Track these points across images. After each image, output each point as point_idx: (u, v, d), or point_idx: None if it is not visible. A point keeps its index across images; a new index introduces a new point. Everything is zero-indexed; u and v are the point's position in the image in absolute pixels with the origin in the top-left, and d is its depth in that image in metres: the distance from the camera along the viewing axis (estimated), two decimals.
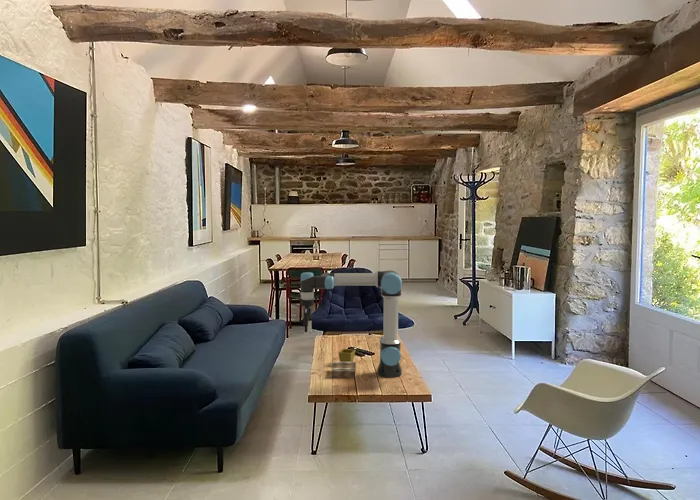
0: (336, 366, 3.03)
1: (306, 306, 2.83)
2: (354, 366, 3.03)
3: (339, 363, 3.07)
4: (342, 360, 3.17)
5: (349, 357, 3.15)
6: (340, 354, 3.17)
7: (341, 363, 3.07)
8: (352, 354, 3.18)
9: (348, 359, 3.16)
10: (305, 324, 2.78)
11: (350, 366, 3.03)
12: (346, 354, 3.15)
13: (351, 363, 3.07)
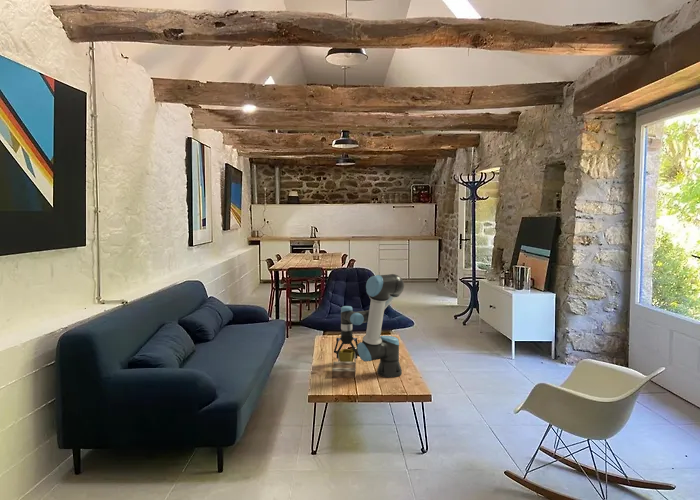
0: (336, 366, 3.03)
1: None
2: (354, 366, 3.03)
3: (339, 363, 3.07)
4: (342, 360, 3.17)
5: (349, 357, 3.15)
6: (340, 354, 3.17)
7: (341, 363, 3.07)
8: (352, 354, 3.18)
9: (348, 359, 3.16)
10: (334, 351, 3.20)
11: (350, 366, 3.03)
12: (346, 354, 3.15)
13: (351, 363, 3.07)
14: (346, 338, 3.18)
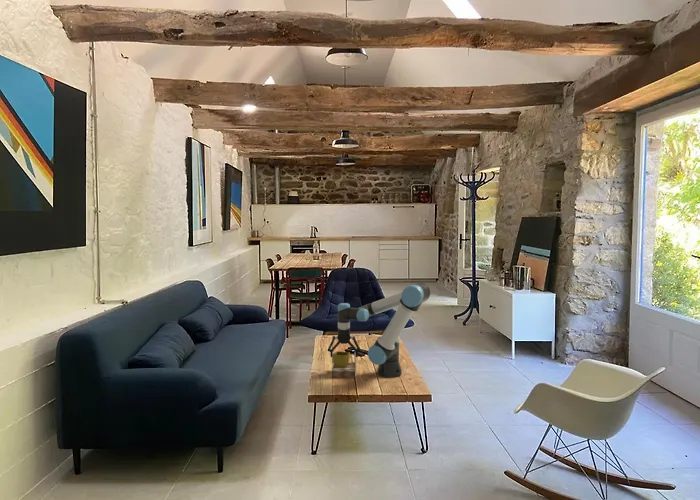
0: None
1: None
2: (354, 366, 3.03)
3: None
4: (336, 363, 2.97)
5: (344, 360, 2.96)
6: (334, 357, 2.97)
7: None
8: (347, 357, 2.98)
9: (343, 362, 2.96)
10: None
11: (350, 366, 3.03)
12: (341, 357, 2.96)
13: (351, 363, 3.07)
14: (343, 338, 2.99)
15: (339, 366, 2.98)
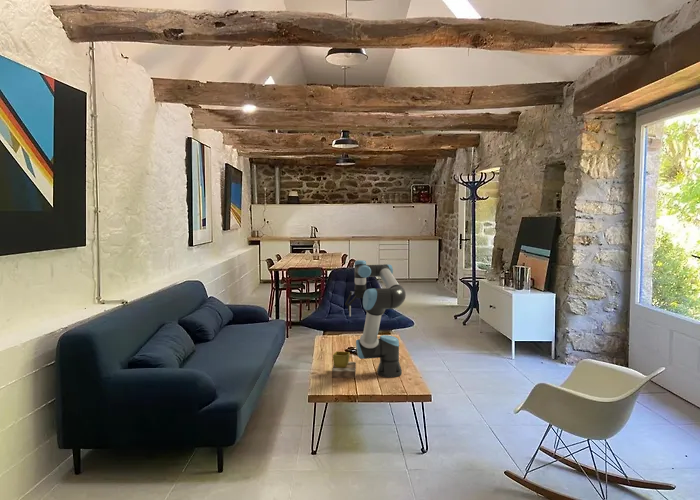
0: None
1: None
2: (354, 366, 3.03)
3: None
4: (336, 363, 2.97)
5: (344, 360, 2.96)
6: (334, 357, 2.97)
7: None
8: (347, 357, 2.98)
9: (343, 362, 2.96)
10: (345, 303, 3.19)
11: (350, 366, 3.03)
12: (341, 357, 2.96)
13: (351, 363, 3.07)
14: (360, 293, 3.18)
15: (339, 366, 2.98)
